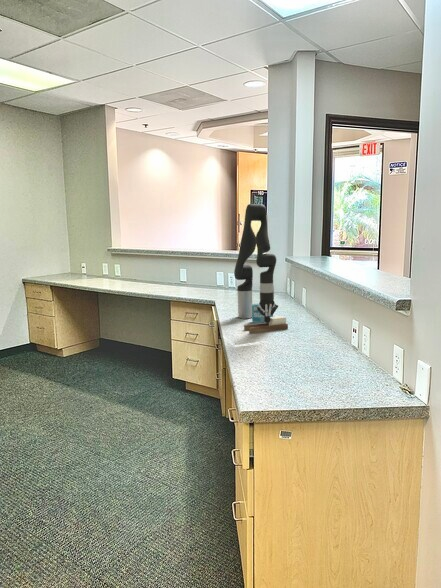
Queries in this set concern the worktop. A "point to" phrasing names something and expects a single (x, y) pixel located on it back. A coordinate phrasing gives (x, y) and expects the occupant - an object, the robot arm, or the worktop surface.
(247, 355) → the worktop surface
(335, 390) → the worktop surface
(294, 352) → the worktop surface
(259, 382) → the worktop surface
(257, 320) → the blue labeled box
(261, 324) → the walnut chute
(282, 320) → the sand block
